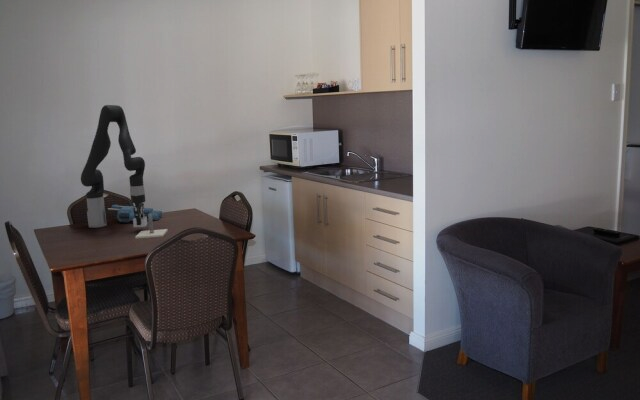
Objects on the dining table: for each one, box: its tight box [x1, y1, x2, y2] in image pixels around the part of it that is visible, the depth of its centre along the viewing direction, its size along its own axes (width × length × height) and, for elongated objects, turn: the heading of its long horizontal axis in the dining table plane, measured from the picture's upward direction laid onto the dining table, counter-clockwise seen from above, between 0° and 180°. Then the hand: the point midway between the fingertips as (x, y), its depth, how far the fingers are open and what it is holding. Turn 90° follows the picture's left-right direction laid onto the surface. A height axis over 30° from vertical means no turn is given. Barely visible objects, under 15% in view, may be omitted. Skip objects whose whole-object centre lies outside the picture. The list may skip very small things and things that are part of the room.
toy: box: [107, 204, 163, 223], centre depth 344 cm, size 22×9×30 cm
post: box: [135, 214, 169, 239], centre depth 300 cm, size 14×14×11 cm
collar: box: [132, 217, 148, 228], centre depth 311 cm, size 6×6×4 cm
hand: (140, 223), depth 311 cm, fingers closed on collar, 6 cm apart
